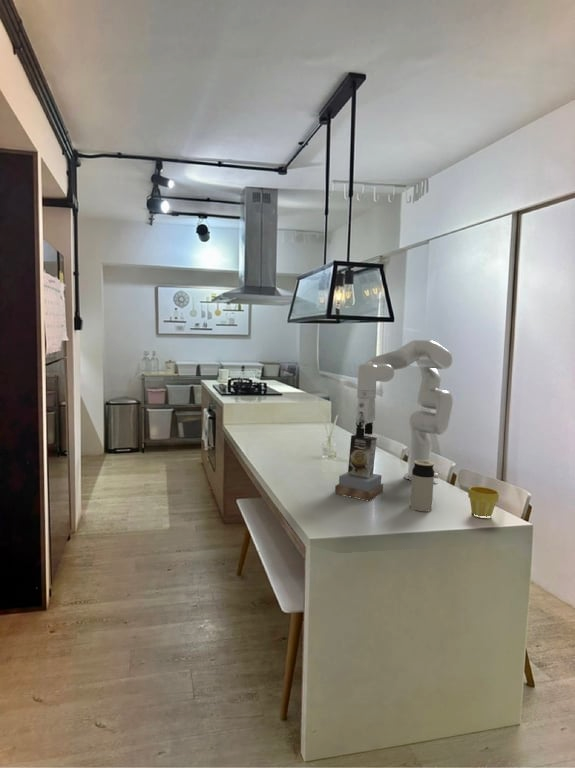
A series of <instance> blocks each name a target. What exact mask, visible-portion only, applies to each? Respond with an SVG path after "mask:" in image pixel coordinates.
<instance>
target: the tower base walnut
mask: <svg viewBox="0 0 575 768" xmlns="http://www.w3.org/2000/svg"><path fill="white" fill-rule="evenodd" d="M383 492H384V484H383V483H381V485H380V486H378V487H376V488H374V489H373V490H371V491H369V492H366V491H362V490H357V489H353V488H348V487H344V486H339V483H338V484H336V485H335V489H334V494H335V493H336V494H335V495H337V494H341V495H340V496H342V495H346V496H345V497H347V496H351V497H356V498H360V499H359V500H361V499H364V500H363V501H366V500H368V501H367V502H371V501H372V499H373V500H374V499H375V498H377V497H378V496H380V495H381V494H382V493H383ZM380 493H381V494H380ZM376 496H377V497H376ZM351 497H350V498H351ZM356 498H355V499H356ZM370 500H371V501H370Z"/></svg>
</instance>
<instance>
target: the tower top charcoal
mask: <svg viewBox="0 0 575 768" xmlns="http://www.w3.org/2000/svg"><path fill="white" fill-rule="evenodd" d="M338 484H339V486H344V487H348V488H353V489H357V490H362V491H366V492H369V491H371V490H373V489H374V488H376V487H378V486H380V485H381V484H382V475H381V474H377V473H373V476H371V477H369V478H364V477H360V476H355V475H350V474H348V471H347V472H344V473H342V474H340V475H339V478H338Z"/></svg>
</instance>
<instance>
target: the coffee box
mask: <svg viewBox="0 0 575 768" xmlns="http://www.w3.org/2000/svg"><path fill="white" fill-rule="evenodd" d="M349 445H350V446H349V455H348V466H347V467H348V469H347V472H348V474H350V475H355V476H360V477H364V478H369V477H371V476H373V474H374V468H375V458H376V457H375V456H376V449H377V437H374V436H368V435H364V438H356V434H352V435H351V436H350V444H349Z"/></svg>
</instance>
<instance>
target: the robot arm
mask: <svg viewBox="0 0 575 768" xmlns="http://www.w3.org/2000/svg"><path fill="white" fill-rule="evenodd" d="M415 362H416V364H417V366H418V368H419V370H420V373H421V374H420V375H421V382H420V385H419V391H418V393H417V395H418V396H417V405H418V406H419V407H420V408H422V409H426V410H434V411H435V412H431V411H424V410H416V411H413V412H412V413H411V414H410V416H409V422H408V423H409V432H410V438H409V451H408V454H409V455H408V469H407V472H406V473H404V476H403V477H404V478H405V479H407V480H408V479H409V481H412V470H413V468H414V466H415V464H414V461H415V460H427V461H431V454H432V438H431V436H430V435H435V436H443V435H444V434H445V433H446V432H447V430H448V426H449V423H450V418H451V415H452V414H451V413H452V410H453V409H452V408H453V403H454V402H453V401H454V399H453V395H452V394H451V392H449V391H448V390H446V389H445V390H444V389H440V387H441V380H442V379H441V375H440V373H439V370H447V369H449V368H450V367H451V366H452V363H453V356H452V354H451V352H450V351H449V350H448V349H446V348H445V347H444V346H442V345H441V344H439V343H438V342H436V341H433V340H427V339H426V340H425V339H414V340H413V339H412V340H411V341H409V342H407V343H406V344H404V345H402V346H400V347H398V349H395V350H394V351H390V352H387V353H382V354H380V355H377V356H375V357H372V358H370V359H368V360H367V361H365V362H364V363H360V364H359V366H358V368H357V369H358V370H357V387H356V389H357V390H356V392H357V393H356V398H357V405H356V418H355V428H356V430H355V431H356V433H355V435H356V438H364V436H365V435H370V436H371V435H373V430H374V429H373V428H374V422H375V420H376V398H377V397H376V396H377V382H379V383H380V382H381V383H387V382H389V381H392V379H394V376H395V371H396V370H403V369H406V368H407V367H409V366H411V365H412V364H414V363H415ZM439 477H440V476H439V474H438V473H437V472H434V479H439Z"/></svg>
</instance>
